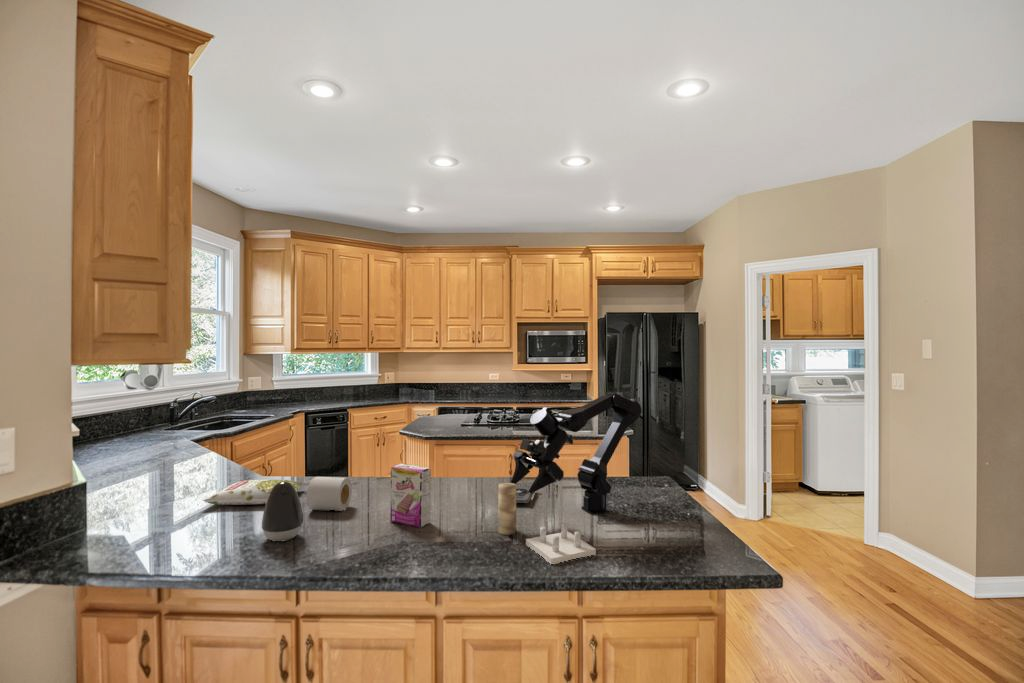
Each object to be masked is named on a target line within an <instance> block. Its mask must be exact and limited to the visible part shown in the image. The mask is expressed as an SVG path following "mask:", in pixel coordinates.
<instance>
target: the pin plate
mask: <svg viewBox="0 0 1024 683" xmlns="http://www.w3.org/2000/svg"><path fill="white" fill-rule="evenodd" d="M581 537H582V533H581V531H574V534H573V533H571V532H570V531H568V523H566V522H563V523H560V532H557V533H552V534H547V527H545V526H540V527H539V536H536V537H535V536H534V537H529V538H525V545H526V546H527V547H528V548H529V547H530V548H529V549H530V550H532V551H533V550H534V551H535V552H534V551H533V552H534V553H535V554H537V553H538V554H539V555H540V556H539V555H538V554H537V555H538V556H539V557H541V556H542V557H543V558H544V559H545V562H547V563H548V562H549V563H550V565H551V564H553V565H556V564H560V562H562V563H565V562H564V561H566V562H569V561H568V560H571V559H576V558H580V557H585V556H586V557H585V558H588V557H587V556H589V557H592V556H591V555H594V556H596V555H597V552H596V550H597V549H596V548H595V547H593V546H592V545H590V544H588V543H587V542H586V541H584V540H582V539H581ZM542 557H541V558H542ZM543 558H542V559H543ZM544 559H543V560H544ZM580 559H581V558H580ZM576 560H577V559H576ZM571 561H572V560H571ZM549 563H548V564H549Z"/></svg>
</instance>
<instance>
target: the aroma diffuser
mask: <svg viewBox="0 0 1024 683" xmlns="http://www.w3.org/2000/svg"><path fill="white" fill-rule="evenodd" d="M303 524H304V514H303V509H302V503H301V501H300V496H299V494H298V492H297V490H295V488H294V486H293V485H292V484H291V483H289V482H285V481H283V482H279V483H277V484H276V485H275V486H274V487H273V488H272V490H271V492H270V494H269V496H268V499H267V502H266V504H264V509H263V514H262V519H261V529H262V531H263V534H264V536H265V538H266V539H268V540H269V541H271V540H272V542H275V541H282V540H287V541H289V540H288V539H290V540H292V539H293V538H295V537H296V536H297V535H298V534H299V533H300V531H301V529H302V526H303ZM291 538H292V539H291ZM282 542H283V541H282Z"/></svg>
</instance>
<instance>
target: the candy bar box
mask: <svg viewBox="0 0 1024 683" xmlns="http://www.w3.org/2000/svg"><path fill="white" fill-rule="evenodd" d="M389 518H390V520H389V521H390V522H392V523H397V524H400V525H407V526H411V527H415V528H416V527H417V528H423V527H425V526H426V524H427V525H428V524H430V523H431V467H426V466H421V465H419V466H418V465H413V464H406V463H398V464H396V465H392V466H391V467H390V516H389ZM424 525H425V526H424Z"/></svg>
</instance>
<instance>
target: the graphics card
mask: <svg viewBox="0 0 1024 683" xmlns="http://www.w3.org/2000/svg"><path fill="white" fill-rule="evenodd" d="M531 485H532V483H528V482H517V483H516V504H517V503H528V504H529V502H531V497H532V495H533V494H535V493H536V492H533V493H532V494H531V493H529V489H530V487H531Z"/></svg>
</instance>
